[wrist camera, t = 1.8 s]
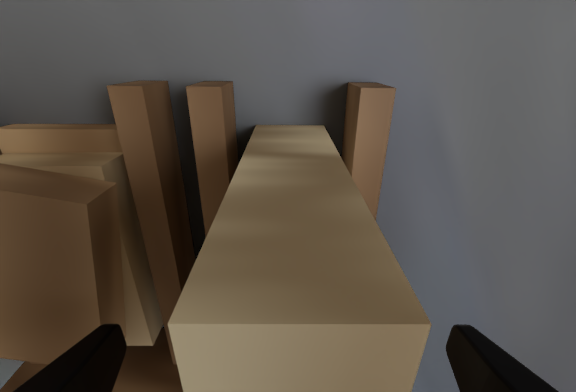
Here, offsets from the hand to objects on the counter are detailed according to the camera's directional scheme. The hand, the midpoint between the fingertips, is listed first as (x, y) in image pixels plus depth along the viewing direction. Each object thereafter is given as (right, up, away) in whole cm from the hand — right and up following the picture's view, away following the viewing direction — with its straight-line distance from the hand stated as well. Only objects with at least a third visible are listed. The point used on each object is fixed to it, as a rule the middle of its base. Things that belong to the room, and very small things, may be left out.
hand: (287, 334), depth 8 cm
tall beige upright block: (0, +2, +5) cm, 5 cm away
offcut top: (-8, +1, +3) cm, 9 cm away
